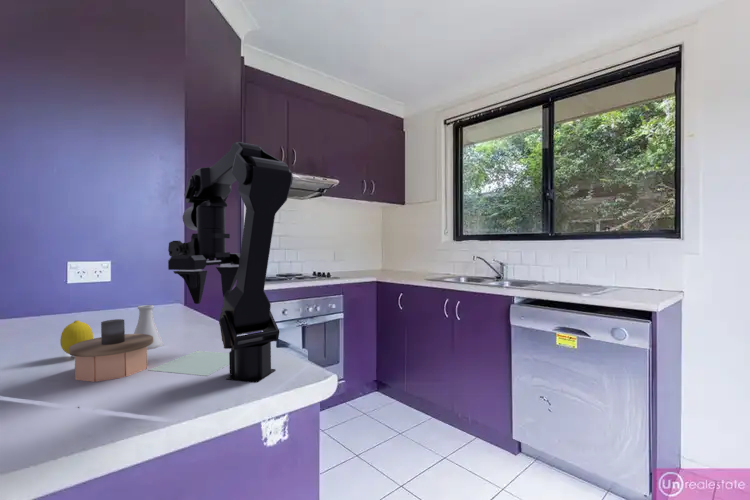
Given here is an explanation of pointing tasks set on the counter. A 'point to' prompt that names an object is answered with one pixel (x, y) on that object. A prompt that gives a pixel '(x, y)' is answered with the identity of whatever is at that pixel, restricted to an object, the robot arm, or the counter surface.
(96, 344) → the lid
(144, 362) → the bowl
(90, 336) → the lemon
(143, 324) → the flask
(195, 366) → the mat
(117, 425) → the counter surface
